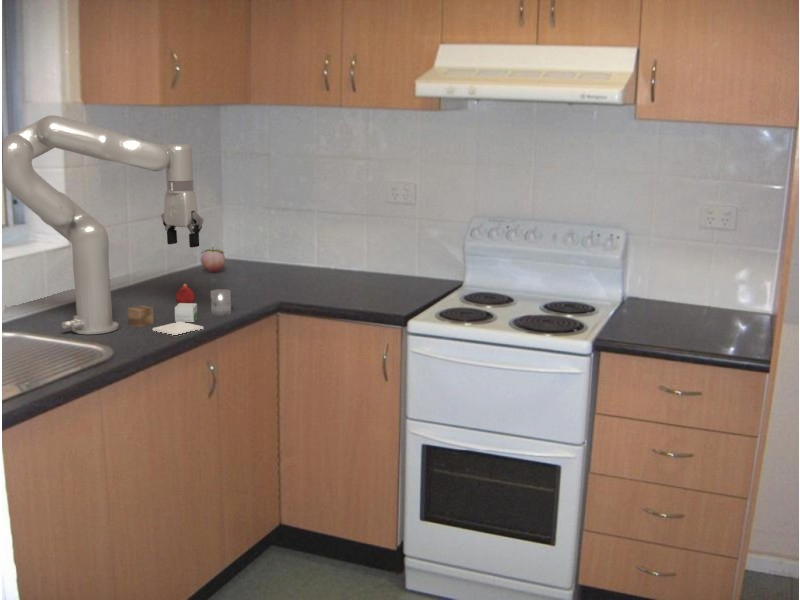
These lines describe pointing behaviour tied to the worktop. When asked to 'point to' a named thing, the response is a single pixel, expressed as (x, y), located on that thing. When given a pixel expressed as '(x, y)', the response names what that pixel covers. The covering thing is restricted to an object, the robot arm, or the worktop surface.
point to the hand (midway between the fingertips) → (183, 245)
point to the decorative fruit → (213, 259)
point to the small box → (186, 312)
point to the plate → (177, 328)
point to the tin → (220, 302)
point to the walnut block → (140, 316)
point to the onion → (185, 295)
